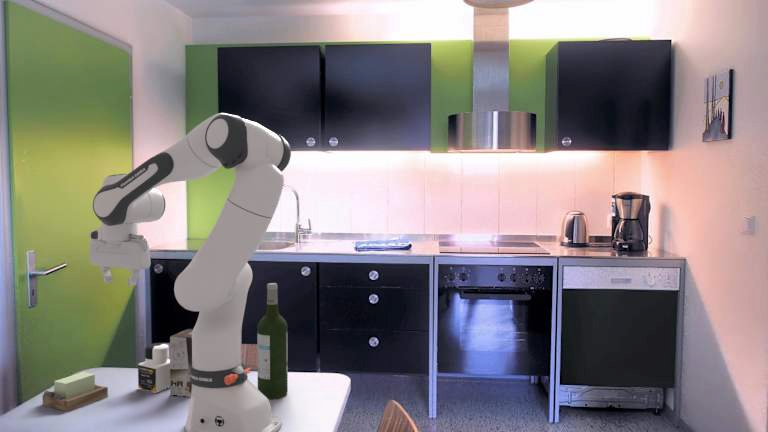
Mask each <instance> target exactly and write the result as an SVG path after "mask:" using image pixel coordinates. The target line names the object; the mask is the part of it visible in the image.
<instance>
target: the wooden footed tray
mask: <svg viewBox="0 0 768 432" xmlns="http://www.w3.org/2000/svg"><path fill="white" fill-rule="evenodd" d="M108 389H109V388H108V387H107V386H103V385H98V384H95V390H92V391H90V392H87V393H84V394H81V395H78V396H75V397H73V398H70V399H67V400H65V399H64V397H65V396H64V395H61V394H57V393H56V394H55V391H50V390H45V391H44V392H43V394H42V405H43V406H46V407H51V408H54V409H57V410H62V411H64V412H70V411H73V410H75V409H79V408H82V407H84V406H86V405H90V404H92V403H94V402H97V401H100V400H102V399H105V398H108V395H109V393H108V392H109V390H108Z"/></svg>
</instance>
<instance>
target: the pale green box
mask: <svg viewBox="0 0 768 432" xmlns="http://www.w3.org/2000/svg"><path fill="white" fill-rule="evenodd" d="M95 375H96V374H95V373H90V372H85V371H81V372H79V373H75V374H73V375H69V376H67V377H63V378H60V379H56V380H54V381H53V382H54V383H53V385H54V391H55V394H56V393H57V394H61V395H64V396H65V397H64V399H65V400H67V399H70V398H73V397H75V396H78V395H81V394H84V393H87V392H90V391H92V390H95V385H96V379H95V378H96V376H95Z"/></svg>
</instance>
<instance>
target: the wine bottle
mask: <svg viewBox="0 0 768 432" xmlns="http://www.w3.org/2000/svg"><path fill="white" fill-rule="evenodd" d="M278 289H279V288H278V283H276V282H270V283H267V285H266V290H267V291H266V312H265V315H264V316H263V317H261V319H260V320H259V321H258V324H257V331H256V332H257V334H256V335H257V336H256V337H257V389H258V390H259V391H260V392H261V393H262V394H263V395H264V396H266V397H267V398H268V400H279V399H281V398H285V396H287V394H288V389H289V388H288V386H289V385H288V378H289V377H288V374H289V373H288V323H287V321H286V319H285V318H284V317H283V316H282V315H281V314H280V312H279V303H278V301H279V299H278Z"/></svg>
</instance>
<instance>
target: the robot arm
mask: <svg viewBox="0 0 768 432" xmlns="http://www.w3.org/2000/svg"><path fill="white" fill-rule="evenodd" d="M291 157H292V150H291V146H290V144H289V142H288V141H287V140H286V138H284V137H283V136H281V134H279V133H277V132H274V131H272V130H270V129H268V128H266V127H265V126H263V125H262V124H260V123H258V122H256V121H252V120H249V119H245V118H243V117H241V116H239V115H236V114H230V113H227V112H226V113H225V112H220V113H219V112H218V113H215V114H214V115H212V116H210V117H208V118H206V119H205V120H203V121H201V122H200V123H199V124H198V125H197V126H194V128H193V129H192V130H190V131H189V132H188V133H187V134H186V135H184V136H183V137H182V138H181V139H180V140H177V142H176V143H174V144H172V145H171V146H169V147H168V148H165V149H164V150H163V151H161V152H158V153H157V154H155V155H153V156H152V157H150V158H148V159H147V160H146V161H144V162H143V163H141V164H140V165H138V166H137V167H135V169H133V170H132V171H130V172H128V173H118V174H111V175H107V176H105V178H104V179H103V182H102V186H101V188H99V189H98V191H97V193H96V194H95V196H94V197H93V201H92V211H93V213H94V214H95V216H96V217H97V219H98V220H99V221H100V222H101V227H99V228H97V229H94V230H92V231H90V232H89V233H88V238H89V240H91V241H90V242H89V262H90V263H91V264H90V265H92V266H95V267H97V266H98V267H100V272H101V273H102V276H103V281H104V283H106V284H110V283H113V282H114V275H112V274H111V268H116V269H117V268H118V269H127V270H129V273H130V277H129V278H127V285H128V286H131V287H132V286H134V287H135V286H137V284H138V277H140V273H141V270H148V269H149V268H150V267H151V264H152V262H151V252H150V251H151V250H150V246H149V243H148V239H147V238H146V237H145V235H143V234H138V224H141V223H152V222H156V221H158V220H160V219H161V218H162V217H163V215H164V214H165V211H166V206H167V205H166V198H165V196H164V194H163V193H162V191H161V190H159V189H158V188H157V187H160V186H161V185H166V184H169V183H178V182H185V181H186V182H187V181H188V182H189V181H196V180H197V181H198V180H201V179H204V178H206V177H208V176H210V175H211V174H213V173H214V172H216V171H217V170H218V169H219V168H221V167H223V168H224V169H226V170H229V169H232V168H233V171H234V174H235V179H234V182H233V185H232V188H231V189H230V192H229V193H228V195H227V198H226V200H225V202H224V204H223V207H221V208H222V209H221V211H220V213H219V216H218V217H217V220H216V221H215V224H214V226H213V227H212V229H211V231H210V233H209V235H207V237H206V238H205V240H204V241H203V243H202V244H201V246H200V247H199V248H198V251H197V252H196V253H195V254H194V256H193V258H192V260H191V261H190V262H189V264H188V265H187V266H186V267H185V268H184V270H183V271H182V272H180V273H179V275H177V277H176V279H175V281H174V287H173V291H174V297H175V299H176V301H177V303H178V304H179V305H180V306H181V307H182V308H183V309H184V310H187V311H191V312H199V313H198V317H197V320H196V322H195V325H194V327H193V328H192V329H193V332H192V365H191V367H190V382H191V383H192V390H191V397H189V398H190V400H189V406H188V415H187V419H186V422H185V425H184V429H185V432H277V431H279V430H280V429H281V427H282V423H283V421H282V419H281V418H279V417H278V416H277V417H276V416H274V415H273V414H272V408H271V403H270V399H268V398H267V397H266V396H264V395H263V394H262V393H261V392H260V391H259V390H258V387H257V386H256V385H254V384H253V382H251V381H250V380H249V379H248V378H249V377H248V374H250V373H251V367H247V368H246V367H245V365H244V363H243V361H242V329H243V321H244V315H245V310H246V304H247V300H248V299H247V298H248V292H249V289H250V286H251V284H252V282H253V270H252V268H251V265H250V264H249V263H248V262H249V260H250V259H251V257H252V256H253V255H254V253H256V252H257V250H258V249H259V247H260V245H261V243H262V241H263V238H264V237H265V235H266V232H267V231H268V228H269V226H270V224H271V221H272V219H273V217H274V215H275V213H276V210H277V208H278V205H279V202H280V199H281V196H282V193H283V188H284V182H285V178H284V174H283V173H282V172H283V171H284V170H285V169H286V168H287V166H288V165H289V163H290V161H291Z"/></svg>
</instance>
